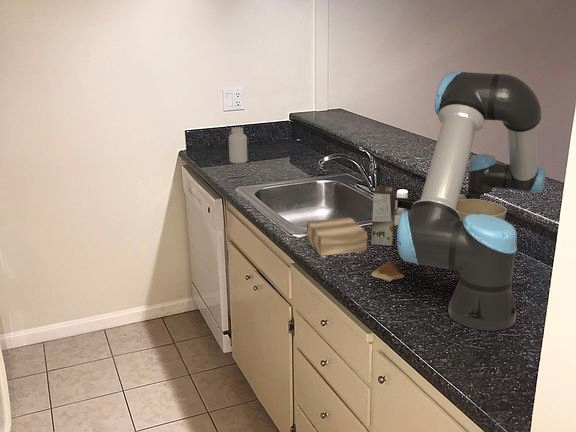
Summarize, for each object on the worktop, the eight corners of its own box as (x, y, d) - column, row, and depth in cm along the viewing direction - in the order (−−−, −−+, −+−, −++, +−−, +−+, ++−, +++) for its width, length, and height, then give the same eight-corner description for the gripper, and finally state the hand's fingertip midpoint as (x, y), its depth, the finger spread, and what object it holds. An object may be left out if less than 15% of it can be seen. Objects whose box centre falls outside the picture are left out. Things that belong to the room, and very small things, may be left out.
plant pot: (458, 273, 177) (463, 217, 172) (437, 252, 191) (441, 200, 186) (510, 269, 179) (516, 214, 174) (486, 249, 193) (491, 197, 188)
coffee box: (392, 246, 196) (395, 194, 191) (370, 244, 197) (372, 193, 192) (394, 235, 204) (396, 185, 199) (373, 234, 206) (375, 184, 200)
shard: (390, 264, 184) (391, 258, 183) (415, 271, 179) (415, 265, 179) (370, 277, 176) (370, 271, 175) (395, 284, 171) (395, 278, 171)
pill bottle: (225, 162, 292) (224, 128, 287) (237, 158, 298) (236, 125, 293) (239, 164, 287) (238, 130, 283) (251, 161, 294) (250, 127, 289)
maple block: (366, 251, 192) (367, 232, 191) (320, 256, 189) (320, 237, 187) (349, 235, 205) (350, 217, 203) (306, 239, 202) (306, 221, 200)
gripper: (469, 232, 193) (402, 239, 188) (430, 206, 216) (370, 212, 211) (471, 208, 191) (403, 214, 186) (432, 184, 214) (371, 189, 209)
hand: (385, 213), depth 199 cm, fingers open, 13 cm apart
